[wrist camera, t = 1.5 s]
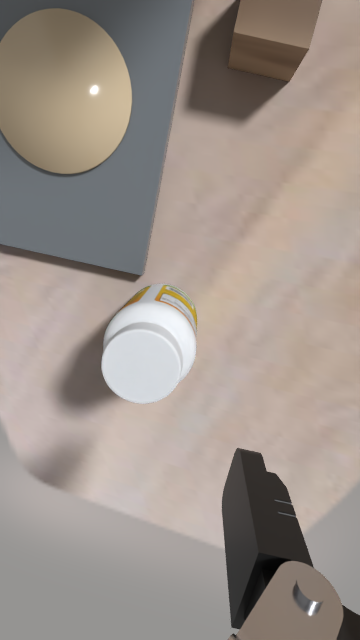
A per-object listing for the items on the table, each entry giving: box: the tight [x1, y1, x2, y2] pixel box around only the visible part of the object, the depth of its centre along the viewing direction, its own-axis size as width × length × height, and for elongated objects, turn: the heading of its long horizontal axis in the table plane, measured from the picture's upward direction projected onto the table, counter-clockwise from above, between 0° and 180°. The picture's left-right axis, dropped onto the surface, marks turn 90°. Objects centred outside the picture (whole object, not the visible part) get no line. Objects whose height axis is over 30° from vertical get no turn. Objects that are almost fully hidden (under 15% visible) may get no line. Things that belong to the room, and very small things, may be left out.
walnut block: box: [228, 0, 322, 82], centre depth 19 cm, size 4×4×4 cm
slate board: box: [0, 0, 194, 276], centre depth 21 cm, size 20×14×1 cm
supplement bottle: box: [101, 284, 197, 404], centre depth 21 cm, size 5×5×10 cm
